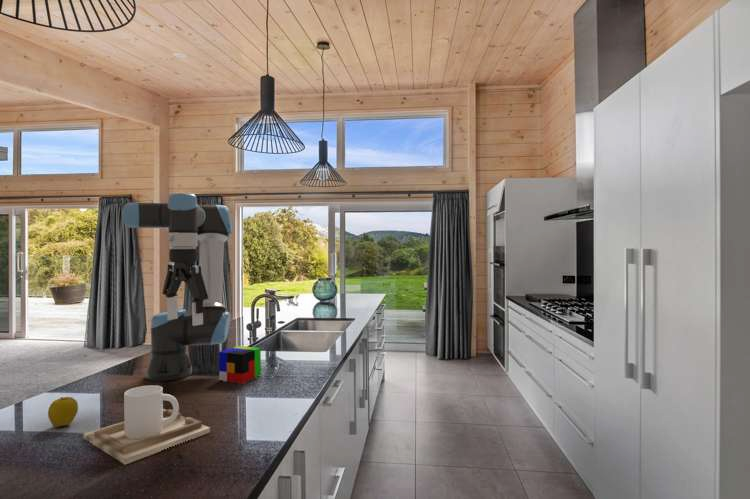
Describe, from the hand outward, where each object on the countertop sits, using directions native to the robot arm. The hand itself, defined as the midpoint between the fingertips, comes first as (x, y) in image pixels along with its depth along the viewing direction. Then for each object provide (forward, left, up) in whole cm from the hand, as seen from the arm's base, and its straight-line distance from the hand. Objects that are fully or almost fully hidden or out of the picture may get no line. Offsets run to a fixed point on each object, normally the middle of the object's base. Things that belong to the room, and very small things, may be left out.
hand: (184, 322), depth 126 cm
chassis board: (+10, -15, -25) cm, 31 cm away
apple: (-14, -25, -25) cm, 38 cm away
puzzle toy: (-12, +28, -25) cm, 39 cm away
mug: (+12, -15, -24) cm, 31 cm away
